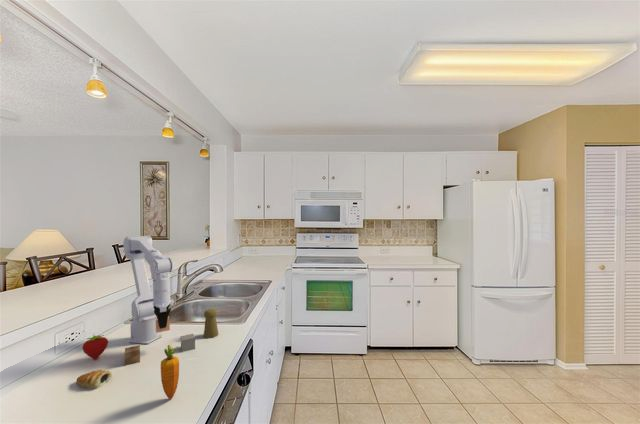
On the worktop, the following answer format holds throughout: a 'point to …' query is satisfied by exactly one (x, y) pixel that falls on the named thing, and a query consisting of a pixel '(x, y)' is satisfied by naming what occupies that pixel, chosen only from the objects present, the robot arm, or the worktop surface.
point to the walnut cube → (132, 355)
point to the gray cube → (187, 342)
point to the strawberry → (95, 346)
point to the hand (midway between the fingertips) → (162, 325)
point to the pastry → (94, 379)
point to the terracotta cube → (162, 328)
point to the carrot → (170, 372)
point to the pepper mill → (210, 324)
